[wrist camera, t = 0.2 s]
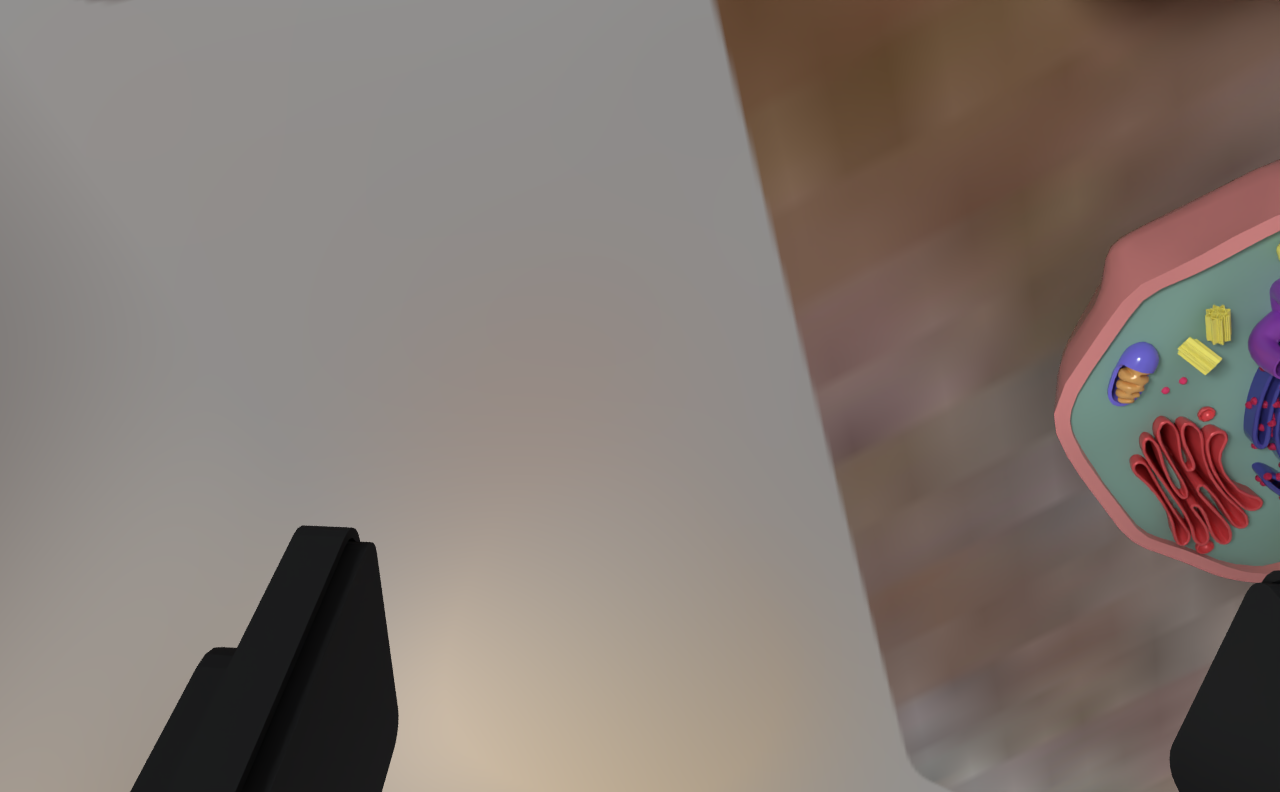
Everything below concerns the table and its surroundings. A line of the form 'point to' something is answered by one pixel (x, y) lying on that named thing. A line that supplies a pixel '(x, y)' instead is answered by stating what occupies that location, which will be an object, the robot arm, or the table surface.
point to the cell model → (1186, 382)
